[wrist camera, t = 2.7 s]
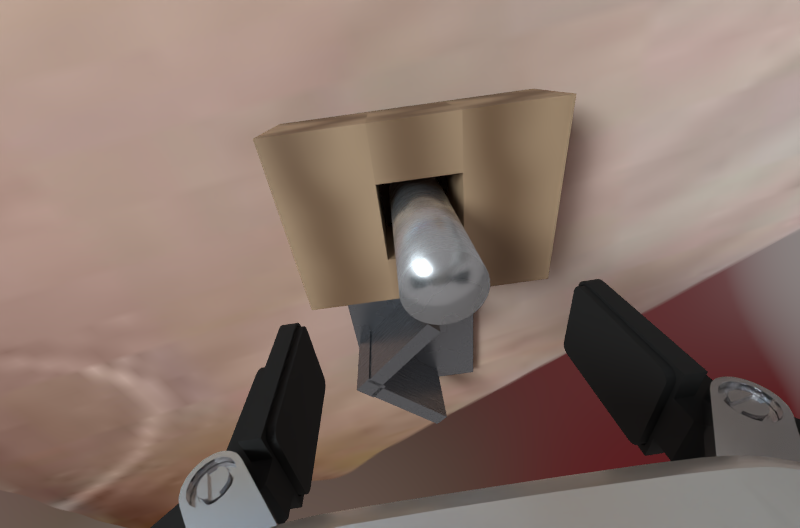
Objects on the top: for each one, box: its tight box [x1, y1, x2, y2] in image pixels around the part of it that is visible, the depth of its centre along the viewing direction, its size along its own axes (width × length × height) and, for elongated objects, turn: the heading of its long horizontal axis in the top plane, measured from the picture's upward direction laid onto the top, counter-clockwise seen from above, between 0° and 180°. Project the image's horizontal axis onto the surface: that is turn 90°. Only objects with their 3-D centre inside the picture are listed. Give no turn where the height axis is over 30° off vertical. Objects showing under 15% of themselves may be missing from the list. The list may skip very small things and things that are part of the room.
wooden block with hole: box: [253, 89, 576, 310], centre depth 21 cm, size 16×11×5 cm
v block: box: [348, 298, 473, 423], centre depth 27 cm, size 12×10×6 cm
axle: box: [389, 177, 490, 325], centre depth 18 cm, size 4×4×12 cm
